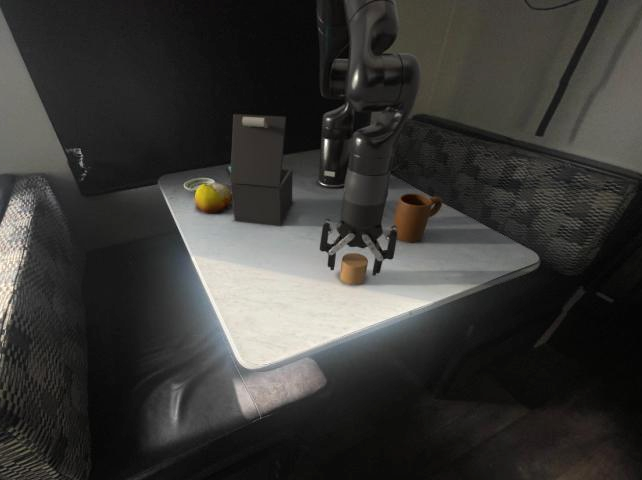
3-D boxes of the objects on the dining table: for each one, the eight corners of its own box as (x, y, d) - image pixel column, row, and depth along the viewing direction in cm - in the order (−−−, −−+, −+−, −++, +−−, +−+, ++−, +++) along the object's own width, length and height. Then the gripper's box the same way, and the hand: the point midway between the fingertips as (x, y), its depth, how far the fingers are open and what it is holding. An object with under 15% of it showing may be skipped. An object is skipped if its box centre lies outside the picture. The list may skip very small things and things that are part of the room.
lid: (234, 115, 79) (226, 108, 74) (286, 117, 77) (281, 111, 72) (231, 183, 83) (223, 181, 78) (280, 187, 81) (275, 185, 76)
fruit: (238, 210, 93) (227, 184, 87) (204, 225, 93) (190, 200, 87) (232, 193, 101) (221, 169, 95) (200, 207, 101) (187, 183, 95)
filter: (354, 267, 73) (357, 250, 70) (370, 280, 69) (373, 262, 66) (334, 274, 71) (336, 257, 68) (350, 287, 67) (352, 269, 64)
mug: (423, 223, 88) (433, 188, 82) (443, 236, 83) (455, 200, 77) (384, 231, 85) (392, 195, 79) (403, 245, 80) (413, 208, 74)
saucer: (199, 182, 110) (198, 175, 108) (222, 188, 106) (221, 181, 104) (178, 192, 103) (176, 185, 102) (201, 199, 100) (200, 191, 98)
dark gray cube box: (251, 198, 100) (248, 165, 94) (292, 202, 98) (292, 169, 92) (234, 220, 89) (230, 184, 83) (280, 225, 87) (279, 189, 81)
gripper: (406, 190, 60) (388, 265, 70) (327, 183, 62) (321, 257, 73) (407, 207, 54) (388, 286, 65) (321, 199, 57) (315, 276, 67)
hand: (352, 270), depth 69 cm, fingers open, 8 cm apart
